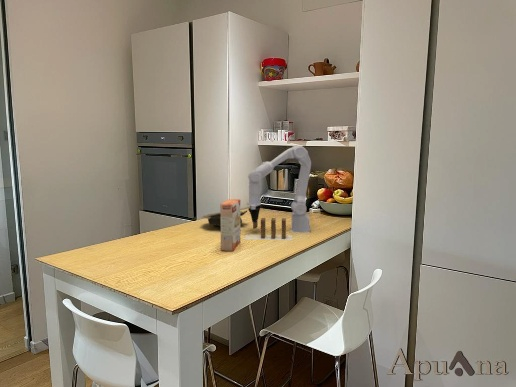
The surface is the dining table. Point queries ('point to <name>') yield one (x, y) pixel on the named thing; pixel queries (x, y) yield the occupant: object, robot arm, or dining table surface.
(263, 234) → the brown wooden block
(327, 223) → the dining table surface
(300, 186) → the robot arm
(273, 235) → the brown wooden block
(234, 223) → the cracker box
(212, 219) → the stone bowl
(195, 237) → the dining table surface
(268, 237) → the mat
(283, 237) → the tile
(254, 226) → the brown wooden block
